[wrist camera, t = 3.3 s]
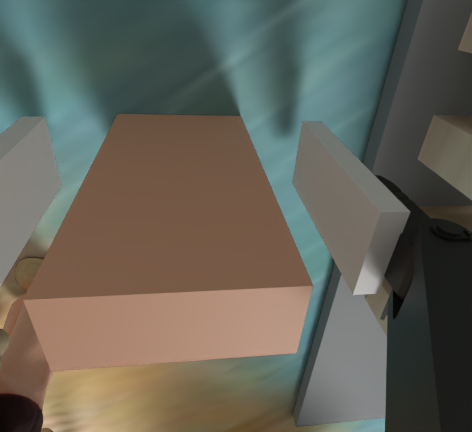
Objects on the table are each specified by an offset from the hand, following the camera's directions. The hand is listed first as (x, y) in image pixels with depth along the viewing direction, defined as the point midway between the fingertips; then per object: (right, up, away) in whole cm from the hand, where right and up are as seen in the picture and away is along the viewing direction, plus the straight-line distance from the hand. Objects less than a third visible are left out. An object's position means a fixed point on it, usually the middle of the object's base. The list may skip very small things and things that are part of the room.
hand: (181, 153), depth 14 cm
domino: (0, +1, +1) cm, 2 cm away
